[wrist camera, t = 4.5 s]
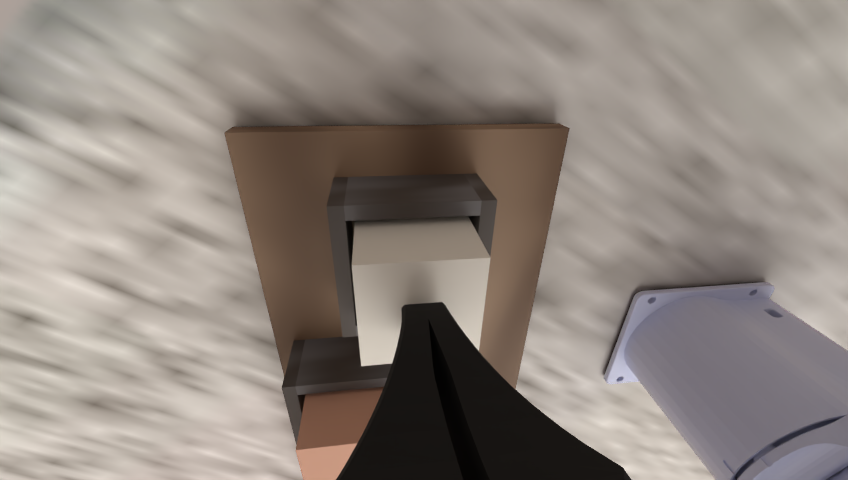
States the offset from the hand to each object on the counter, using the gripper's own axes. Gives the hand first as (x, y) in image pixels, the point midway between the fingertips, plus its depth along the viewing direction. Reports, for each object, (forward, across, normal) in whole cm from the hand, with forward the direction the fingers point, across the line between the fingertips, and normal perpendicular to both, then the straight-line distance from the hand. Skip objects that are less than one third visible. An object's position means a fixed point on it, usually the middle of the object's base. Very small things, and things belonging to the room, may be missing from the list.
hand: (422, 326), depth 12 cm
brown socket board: (+7, 0, +9) cm, 11 cm away
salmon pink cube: (+4, +3, +9) cm, 10 cm away
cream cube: (+4, 0, 0) cm, 4 cm away
